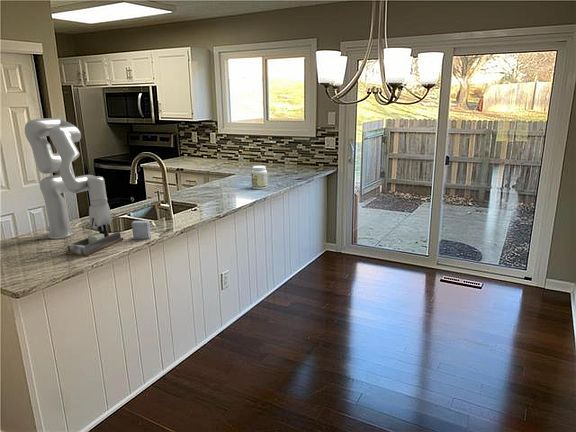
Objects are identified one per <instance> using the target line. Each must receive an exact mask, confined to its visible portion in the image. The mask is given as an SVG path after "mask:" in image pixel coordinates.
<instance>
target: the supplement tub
mask: <svg viewBox="0 0 576 432" xmlns="http://www.w3.org/2000/svg"><path fill="white" fill-rule="evenodd" d="M251 169H252V170H251V173H250V174H251V188H252V189H254V190H264V189H265V190H266V189H267V188H268V170H267V168H266V166H265V165H253V166H252V168H251Z"/></svg>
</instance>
